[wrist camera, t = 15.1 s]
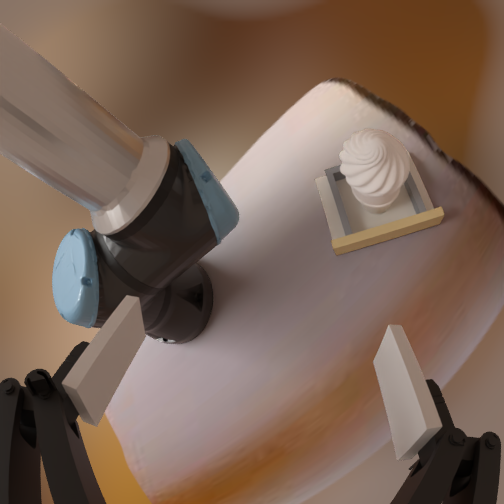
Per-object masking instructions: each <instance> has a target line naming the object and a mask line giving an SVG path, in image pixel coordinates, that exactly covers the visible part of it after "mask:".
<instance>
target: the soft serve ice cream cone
mask: <svg viewBox="0 0 504 504" xmlns="http://www.w3.org/2000/svg"><path fill="white" fill-rule="evenodd" d="M343 147H344V150H342V151H341V152H340V154H339V159H340V160H341V161H342V164H341V166H340V172H341V173H342V174H343V175H345V176H346V181H347V183H348V184H349V185H350V186H351V189H352V192H353V194H354V196H355V197H356V199H357V200H358V201H360V202H361V204H362V205H363V207H364V208H365V209H366V210H367V211H368V212H369V213H372V214H382V213H384V212H386V211H387V210H388V208H389V207H390V205H391V204H392V202H393V201H394V200H395V199H396V198H397V196H398V195H399V192H400V187H401V186H402V185H403V184H404V183H405V181H406V179H407V178H408V175H409V171H410V163H409V159H408V153H407V151H406V149H405V147H404V145H403V144H402V143H401V142H400V141H399V140H398V139H396V138H395V137H393V136H392V135H391V134H389V133H388V132H385V131H383V130H374V129H364V130H362V131H358V132H355V133H353V134H352V136H351V139H348V140H346V141H345V142H344V144H343Z"/></svg>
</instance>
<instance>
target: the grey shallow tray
mask: <svg viewBox="0 0 504 504" xmlns="http://www.w3.org/2000/svg"><path fill="white" fill-rule="evenodd" d="M407 153H408V159H409V163H410V171H409V175H408V178H407V179H406V181H405V183H404V184H403V185H402V186H401V187H400V192H399V195H398V196H397V198H396V199H395V200H394V201H393V202H392V204H391V205H390V207H389V208H388V210H387V211H386V212H384V213H382V214H372V213H369V212H368V211H367V210H366V209H365V208H364V207H363V205H362V204H361V202H360V201H358V200H357V199H356V197H355V196H354V194H353V192H352V189H351V186H350V185H349V184H348V183H347V181H346V176H345V175H343V174H342V173H341V172H340V166H341V165H339V166H336V167H333V168H330V169H326V170H325V173H326V175H325V176H322V177H319V178H315V182H316V185H317V188H318V192H319V195H320V198H321V201H322V205H323V208H324V212H325V215H326V218H327V222H328V225H329V229H330V233H331V236H332V240H331V243H332V247H333V250H334V251H335V253H336V255H340V254H344V253H347V252H350V251H354V250H357V249H360V248H364V247H367V246H370V245H374V244H377V243H380V242H384V241H387V240H390V239H393V238H397V237H400V236H403V235H406V234H409V233H413V232H416V231H419V230H422V229H425V228H429V227H432V226H435V225H438V224H440V223H441V221H442V219H443V217H444V215H445V214H444V212H443V209H442V207H438V208H435V209H434V207H433V205H432V202H431V200H430V198H429V195H428V193H427V190H426V188H425V186H424V184H423V181H422V179H421V177H420V175H419V173H418V171H417V168H416V166H415V164H414V162H413V160H412V158H411V156H410V154H409V152H408V150H407Z"/></svg>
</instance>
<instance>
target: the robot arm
mask: <svg viewBox="0 0 504 504" xmlns="http://www.w3.org/2000/svg"><path fill="white" fill-rule="evenodd" d="M0 154H1V155H3V156H4V157H6V158H7V159H9V160H11V161H12V162H14V163H15V164H17V165H18V166H20V167H21V168H23V169H24V170H26V171H27V172H29V173H31V174H32V175H34V176H35V177H37V178H39V179H40V180H42V181H43V182H45V183H46V184H48V185H50V186H51V187H53V188H54V189H56V190H58V191H60V192H61V193H62V194H64V195H66V196H68V197H69V198H71V199H72V200H74V201H76V202H77V203H79V204H81V205H82V206H84V207H86V208H87V209H89V210H90V213H91V217H92V223H93V226H94V228H95V229H94V230H93V231H92V232H89V231H88V230H86V229H84V228H82V229H73V230H71V231H70V232H69V233H67V235H66V236H65V237H64V238H63V240H62V242H61V244H60V246H59V248H58V251H57V254H56V257H55V262H54V268H53V278H52V285H53V295H54V300H55V304H56V307H57V309H58V311H59V313H60V315H61V316H62V317H63V318H64V319H65V320H67V321H68V322H70V323H72V324H76V325H80V326H84V327H86V328H91V327H95V328H101V329H100V330H99V332H98V333H97V334H96V336H95V337H94V338H93V340H92V341H91V342H90V343H88V342H84V341H83V342H81V343H80V344H78V345H77V346H75V347H74V349H73V350H72V351H71V353H70V355H68V357H67V358H66V359H65V361H64V362H63V364H62V365H61V366H60V367H59V369H58V370H57V372H56V373H55V374H54V376H53V377H52V378H51V376H50V374H49V373H48V372H47V371H46V370H43V369H36V370H33V371H31V372H30V373H29V374H27V376H26V378H25V382H24V383H25V385H26V387H23V386H21V385H20V384H19V382H18V381H17V380H16V379H14V378H7V379H5V380H3V381H2V382H1V383H0V504H42V503H41V481H40V480H41V479H40V460H41V458H40V457H41V456H42V461H43V465H44V469H45V473H46V477H47V481H48V484H49V488H50V492H51V495H52V498H53V501H54V504H106V502H105V500H104V497H103V495H102V493H101V490H100V488H99V485H98V483H97V481H96V478H95V475H94V473H93V470H92V467H91V464H90V461H89V459H88V456H87V453H86V450H85V447H84V443H83V440H82V437H81V433H80V430H79V426H78V423H77V421H76V419H77V417H78V415H80V417H81V418H82V420H83V421H84V422H86V423H89V424H92V425H94V426H97V425H98V424H99V422H100V420H101V418H102V416H103V414H104V412H105V410H106V408H107V406H108V404H109V402H110V401H111V399H112V397H113V395H114V393H115V391H116V389H117V387H118V386H119V384H120V382H121V380H122V378H123V376H124V375H125V373H126V371H127V369H128V367H129V365H130V364H131V362H132V360H133V358H134V357H135V355H136V353H137V351H138V349H139V348H140V346H141V344H142V342H143V341H144V339H145V337H146V335H148V336H150V337H152V338H153V339H155V340H157V341H160V342H163V343H168V344H180V343H185V342H188V341H190V340H192V339H193V338H195V337H196V336H197V335H198V334H199V333H200V332H201V331H202V330H203V328H204V327H205V325H206V324H207V322H208V320H209V317H210V314H211V310H212V305H213V292H212V286H211V283H210V280H209V277H208V275H207V274H206V272H205V271H204V269H203V268H202V267H201V266H200V265H199V264H197V263H196V262H197V261H198V260H200V259H201V258H202V257H203V256H205V255H206V254H207V253H208V252H209V251H211V250H212V249H213V248H214V247H215V246H217V245H219V244H220V243H221V240H222V239H223V238H224V237H225V236H226V235H227V234H228V233H230V232H231V231H232V230H233V229H234V228H235V227H236V225H237V224H238V221H239V212H238V209H237V207H236V206H235V204H234V203H233V201H232V200H231V198H230V197H229V195H228V194H227V192H226V191H225V189H224V188H223V187H222V185H221V184H220V182H219V181H218V179H217V178H216V177H215V175H214V174H213V172H212V171H211V170H210V168H209V167H208V166H207V164H206V163H205V161H204V160H203V159H202V157H201V156H200V154H199V153H198V152H197V151H196V149H195V148H194V147H193V145H192V144H191V143H190V142H189V140H187V139H182V140H181V141H178V142H176V143H175V145H174V146H172V145H171V144H169V142H168V141H166V140H165V139H164V138H162V137H160V136H156V135H155V136H148V137H143V138H140V137H138V136H137V135H136V134H135V133H134V132H132V131H131V130H130V129H129V128H128V127H126V126H125V125H124V124H123V123H122V122H120V121H119V120H118V119H117V118H116V117H115V116H113V115H112V114H111V113H110V112H108V111H107V110H106V109H105V108H104V107H103V106H101V105H100V104H99V103H98V102H97V101H96V100H94V99H93V98H92V97H91V96H89V95H88V94H87V93H86V92H85V91H83V90H82V89H81V88H80V87H79V86H77V85H76V84H75V83H74V82H73V81H71V80H70V79H69V78H68V77H67V76H65V75H64V74H63V73H62V72H60V71H59V70H58V69H57V68H56V67H54V66H53V65H52V64H51V63H50V62H48V61H47V60H46V59H45V58H43V57H42V56H41V55H40V54H39V53H37V52H36V51H35V50H33V49H32V48H31V47H30V46H29V45H27V44H26V43H25V42H24V41H22V40H21V39H20V38H19V37H17V36H16V35H15V34H14V33H12V32H11V31H10V30H9V29H7V28H6V27H5V26H4V25H2V24H1V23H0ZM145 334H146V335H145ZM373 363H374V367H375V370H376V374H377V378H378V381H379V385H380V389H381V392H382V396H383V400H384V404H385V408H386V412H387V417H388V421H389V425H390V429H391V434H392V438H393V443H394V448H395V453H396V457H397V461H402V460H408V459H412V458H413V457H414V456H415V455H416V454H417V453H418V455H419V460H417V461H416V462H415V463H414V464H413V465H412V466H411V467H410V468H409V470H411V469H412V468H413V469H412V470H411V472H410V474H409V476H408V477H407V479H406V480H405V482H404V484H403V485H402V487H401V488H400V490H399V491H398V493H397V494H396V496H395V498H394V499H393V500H392V502H391V503H390V504H441V503H442V504H496V501H497V493H498V485H499V475H500V460H501V442H500V439H499V437H498V436H497V435H496V434H495V433H493V432H486V433H484V434H483V435H482V436H481V437H480V438H474V437H467V436H466V435H465V433H464V432H463V431H462V430H461V429H458V428H455V426H454V424H453V421H452V418H451V416H450V413H449V411H448V408H447V406H446V403H445V401H444V398H443V397H442V393H441V391H440V388H439V386H438V385H437V384H436V383H435V382H434V381H433V380H432V379H430V380H425V378H424V376H423V373H422V371H421V369H420V366H419V364H418V361H417V359H416V357H415V354H414V352H413V350H412V348H411V345H410V343H409V341H408V339H407V337H406V334H405V332H404V330H403V328H402V326H401V325H388V328H387V330H386V333H385V335H384V338H383V340H382V343H381V345H380V347H379V350H378V352H377V354H376V357H375V359H374V361H373Z"/></svg>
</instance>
